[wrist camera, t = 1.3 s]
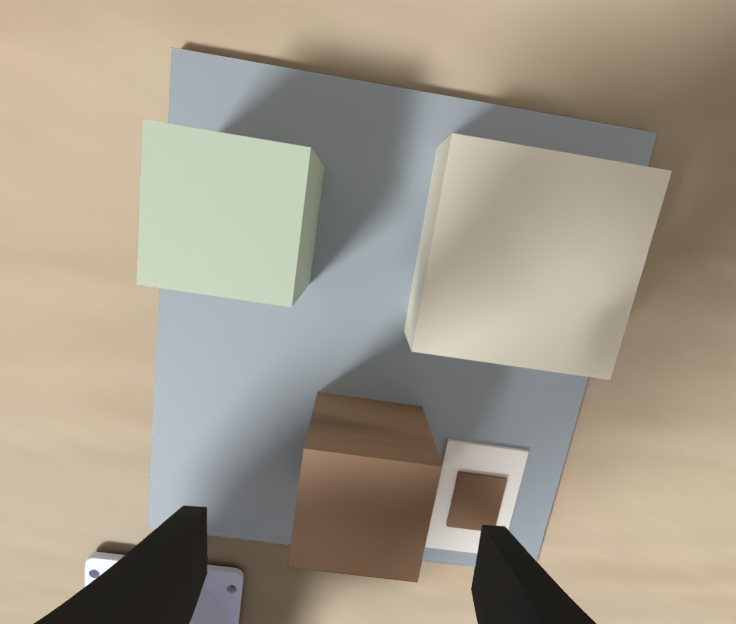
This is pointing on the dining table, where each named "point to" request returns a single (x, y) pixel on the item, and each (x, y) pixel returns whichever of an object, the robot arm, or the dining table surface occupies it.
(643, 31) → the dining table surface
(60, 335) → the dining table surface
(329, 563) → the walnut block
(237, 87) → the board
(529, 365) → the cream base block
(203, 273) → the sage block
